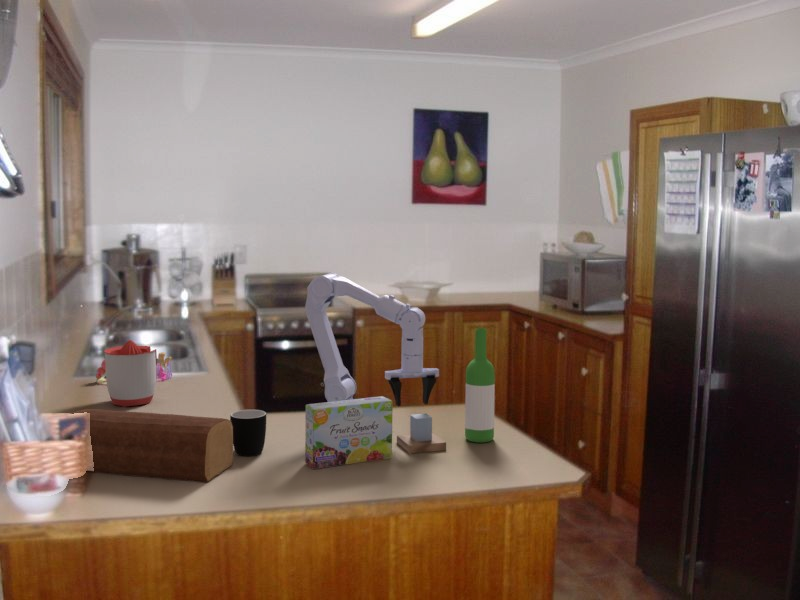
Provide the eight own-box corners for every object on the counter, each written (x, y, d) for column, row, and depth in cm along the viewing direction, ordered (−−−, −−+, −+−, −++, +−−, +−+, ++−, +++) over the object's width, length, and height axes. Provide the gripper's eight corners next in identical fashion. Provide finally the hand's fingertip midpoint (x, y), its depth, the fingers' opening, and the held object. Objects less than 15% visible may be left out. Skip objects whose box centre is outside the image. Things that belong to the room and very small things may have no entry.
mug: (274, 452, 218) (273, 413, 217) (244, 460, 212) (243, 420, 211) (246, 443, 227) (246, 405, 226) (217, 450, 221) (216, 411, 219)
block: (415, 441, 221) (415, 418, 221) (410, 437, 226) (410, 414, 225) (431, 440, 223) (432, 417, 222) (426, 435, 227) (426, 413, 226)
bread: (206, 485, 195) (205, 427, 193) (57, 471, 204) (54, 416, 203) (236, 464, 209) (235, 410, 208) (95, 452, 219) (93, 401, 217)
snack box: (313, 470, 205) (313, 408, 203) (305, 464, 210) (304, 403, 208) (393, 458, 214) (393, 399, 212) (383, 452, 219) (383, 394, 217)
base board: (409, 453, 218) (409, 445, 218) (396, 442, 227) (396, 435, 227) (446, 449, 221) (446, 442, 221) (432, 439, 231) (432, 432, 230)
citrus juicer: (170, 403, 270) (168, 340, 267) (114, 411, 260) (111, 346, 258) (154, 394, 282) (152, 333, 280) (100, 401, 273) (97, 338, 270)
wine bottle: (482, 445, 225) (483, 332, 222) (458, 439, 230) (460, 328, 227) (499, 439, 231) (501, 328, 227) (476, 433, 236) (478, 325, 232)
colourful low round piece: (121, 371, 320) (120, 347, 319) (181, 373, 317) (181, 348, 316) (88, 386, 295) (87, 359, 294) (153, 388, 292) (152, 361, 291)
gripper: (390, 358, 221) (390, 409, 223) (443, 355, 225) (442, 406, 227) (382, 353, 228) (382, 403, 229) (434, 350, 232) (433, 399, 234)
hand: (411, 404), depth 229 cm, fingers open, 7 cm apart
